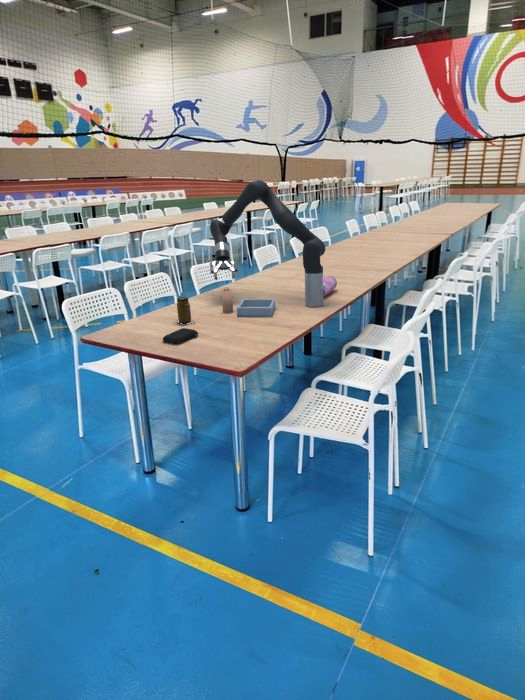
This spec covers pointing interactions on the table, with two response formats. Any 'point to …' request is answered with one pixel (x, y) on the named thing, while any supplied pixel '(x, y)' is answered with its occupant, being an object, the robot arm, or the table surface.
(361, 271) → the table surface
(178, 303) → the condiment
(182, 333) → the carrying case or bag
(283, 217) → the robot arm
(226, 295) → the cruet
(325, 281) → the pencil case
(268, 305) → the bin
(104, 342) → the table surface
